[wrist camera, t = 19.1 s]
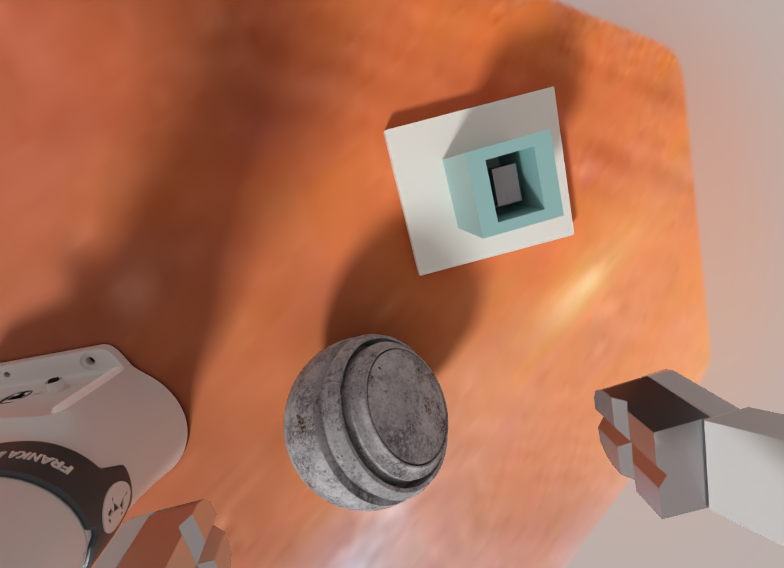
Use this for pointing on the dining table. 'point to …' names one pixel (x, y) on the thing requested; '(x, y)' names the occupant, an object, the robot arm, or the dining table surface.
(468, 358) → the dining table surface
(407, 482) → the decorative orb
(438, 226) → the board
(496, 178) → the grey rectangular block
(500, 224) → the teal square hollow box
